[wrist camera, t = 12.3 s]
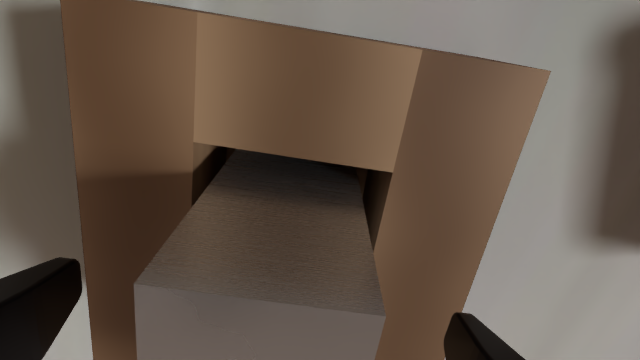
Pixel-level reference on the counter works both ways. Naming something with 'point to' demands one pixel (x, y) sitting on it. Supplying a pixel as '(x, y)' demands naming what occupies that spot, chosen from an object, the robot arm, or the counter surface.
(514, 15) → the counter surface
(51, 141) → the counter surface
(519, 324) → the counter surface
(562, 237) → the counter surface
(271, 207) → the steel block
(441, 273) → the socket block
